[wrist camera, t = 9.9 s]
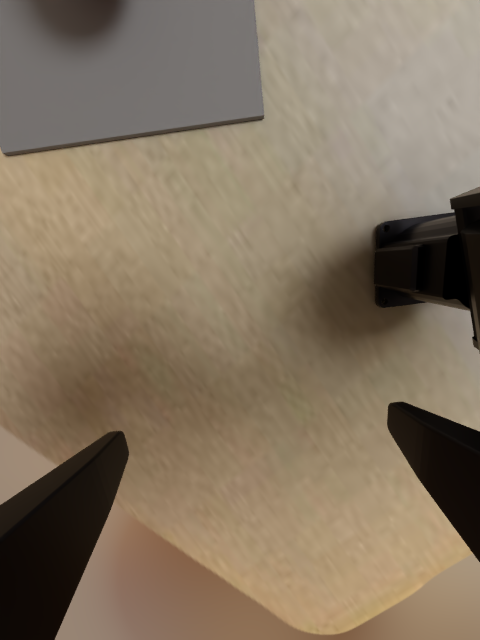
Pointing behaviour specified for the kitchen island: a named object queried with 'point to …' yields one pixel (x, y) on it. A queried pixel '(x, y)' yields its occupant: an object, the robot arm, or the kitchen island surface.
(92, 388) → the kitchen island surface
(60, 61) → the mat
